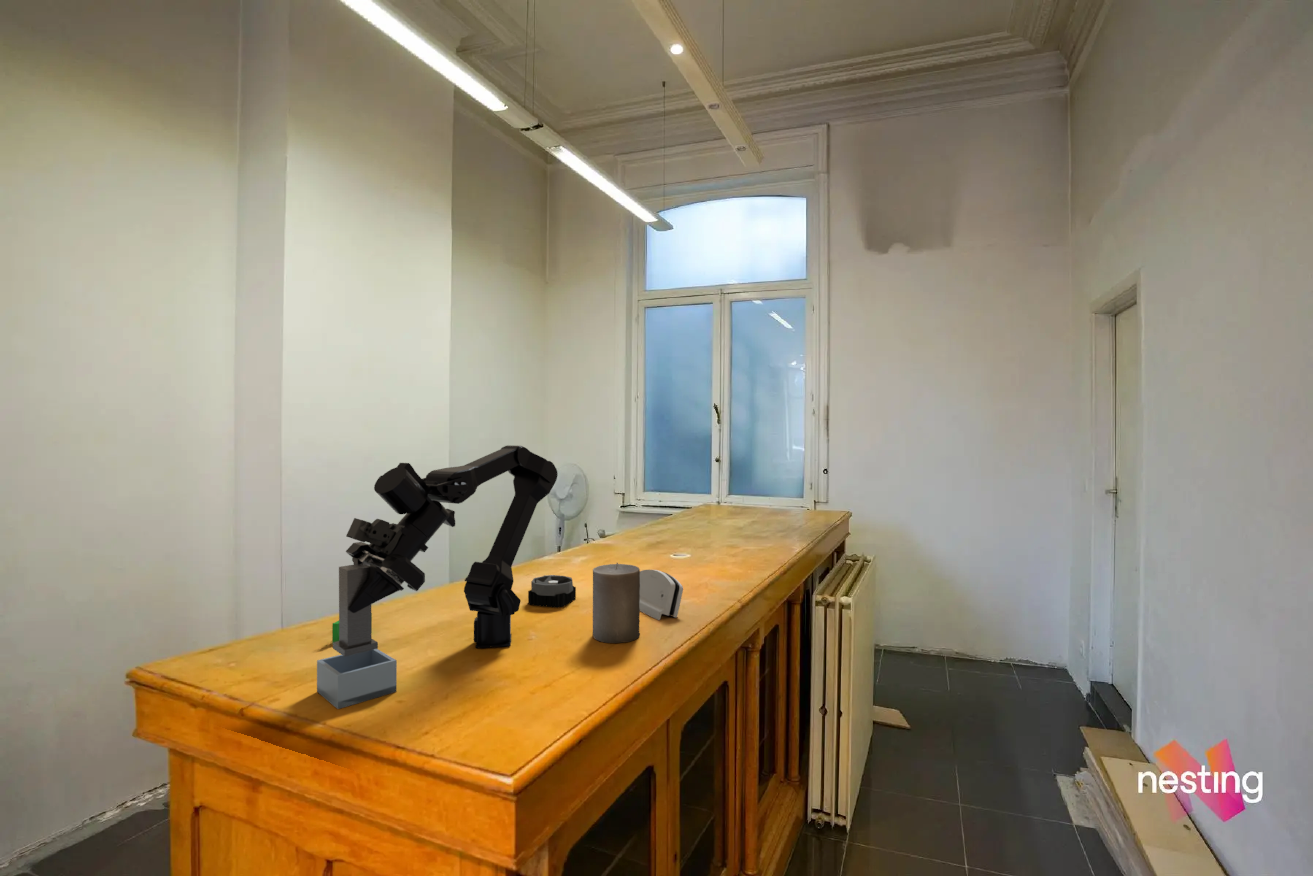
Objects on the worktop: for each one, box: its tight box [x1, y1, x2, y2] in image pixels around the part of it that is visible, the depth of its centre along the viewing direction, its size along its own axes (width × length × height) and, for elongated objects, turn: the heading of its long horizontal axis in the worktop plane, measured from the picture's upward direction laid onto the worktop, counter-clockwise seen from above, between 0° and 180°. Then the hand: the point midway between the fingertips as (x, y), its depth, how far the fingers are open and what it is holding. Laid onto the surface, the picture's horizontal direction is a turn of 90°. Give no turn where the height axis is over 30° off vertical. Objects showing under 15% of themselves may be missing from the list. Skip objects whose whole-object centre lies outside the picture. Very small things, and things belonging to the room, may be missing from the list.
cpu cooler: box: [527, 574, 577, 609], centre depth 153 cm, size 10×6×10 cm
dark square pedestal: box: [332, 563, 379, 657], centre depth 100 cm, size 5×5×13 cm
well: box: [316, 649, 398, 710], centre depth 100 cm, size 9×9×5 cm
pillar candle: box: [592, 562, 641, 644], centre depth 128 cm, size 10×10×15 cm
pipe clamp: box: [331, 612, 373, 646], centre depth 126 cm, size 10×4×4 cm, turn 173°
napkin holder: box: [639, 569, 684, 621], centre depth 148 cm, size 17×5×10 cm, turn 31°
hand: (346, 608), depth 99 cm, fingers closed on dark square pedestal, 4 cm apart
